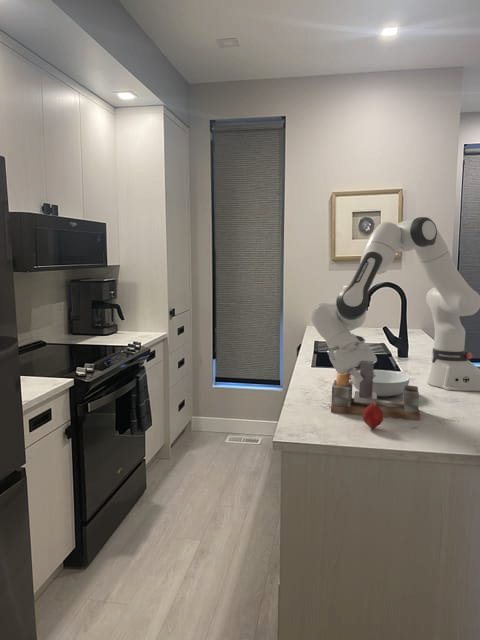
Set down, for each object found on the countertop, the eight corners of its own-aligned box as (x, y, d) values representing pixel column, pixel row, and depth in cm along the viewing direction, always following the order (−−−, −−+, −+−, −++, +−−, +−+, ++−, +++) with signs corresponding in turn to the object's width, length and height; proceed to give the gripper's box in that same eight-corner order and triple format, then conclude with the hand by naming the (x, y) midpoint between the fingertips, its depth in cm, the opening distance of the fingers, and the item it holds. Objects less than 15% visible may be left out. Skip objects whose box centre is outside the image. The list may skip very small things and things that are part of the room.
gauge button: (348, 396, 167) (349, 372, 166) (347, 399, 163) (348, 375, 162) (336, 395, 168) (337, 372, 167) (335, 398, 164) (336, 374, 163)
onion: (359, 425, 149) (360, 399, 148) (378, 425, 149) (379, 399, 148) (366, 432, 143) (367, 405, 142) (385, 431, 143) (387, 404, 142)
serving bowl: (421, 397, 180) (422, 378, 179) (378, 405, 170) (379, 385, 169) (378, 384, 198) (379, 367, 197) (338, 390, 188) (338, 372, 187)
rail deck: (416, 409, 165) (418, 383, 164) (419, 420, 154) (421, 392, 153) (333, 401, 172) (334, 377, 171) (330, 412, 161) (331, 385, 160)
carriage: (376, 397, 166) (378, 360, 165) (376, 403, 159) (378, 365, 157) (355, 395, 168) (356, 358, 167) (354, 401, 161) (355, 363, 159)
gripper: (331, 343, 159) (356, 378, 153) (365, 336, 173) (390, 368, 167) (319, 354, 162) (343, 390, 157) (354, 347, 177) (377, 379, 171)
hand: (368, 379), depth 162 cm, fingers closed on carriage, 5 cm apart
